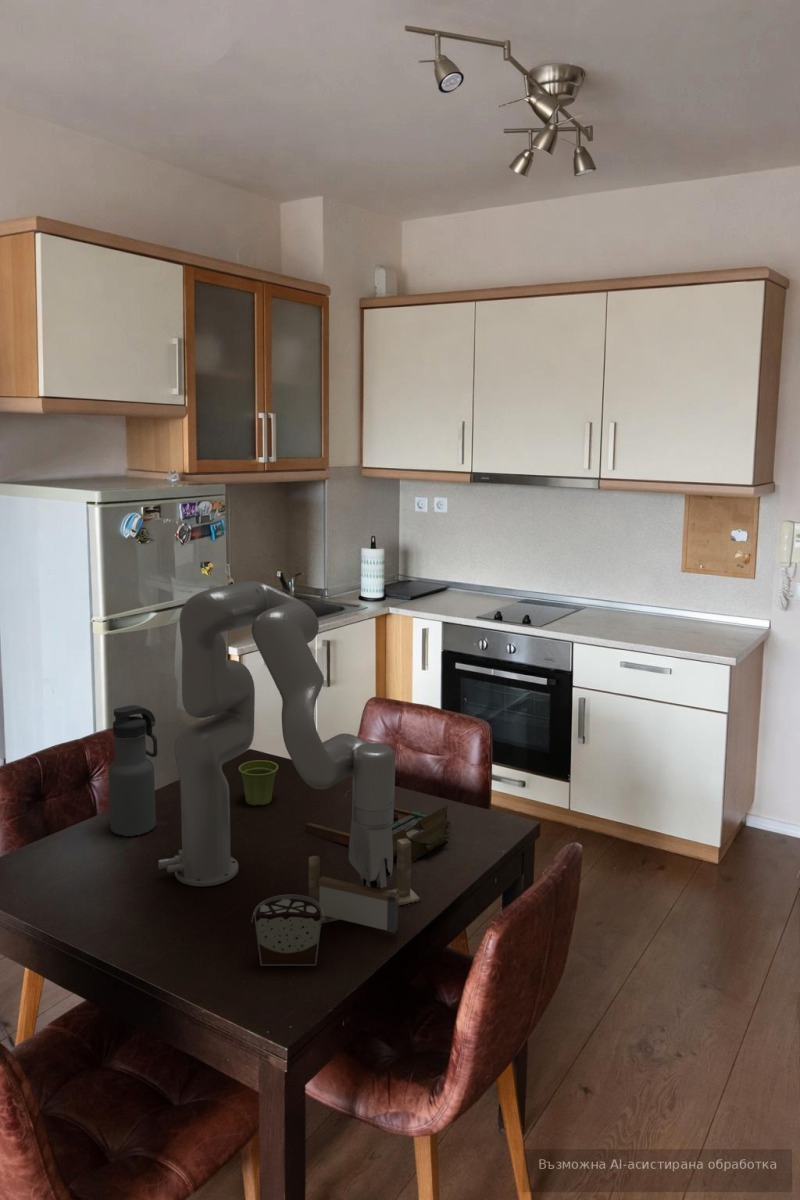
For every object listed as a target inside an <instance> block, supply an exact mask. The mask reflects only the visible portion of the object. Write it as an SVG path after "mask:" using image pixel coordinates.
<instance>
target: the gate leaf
mask: <svg viewBox="0 0 800 1200" xmlns="http://www.w3.org/2000/svg"><path fill="white" fill-rule="evenodd" d="M318 885H319V886H320V905H321V908H322V909H323V912H324V916H328V917H333V918H337V919H340V920H342V921H345V922H350V923H354V924H359V925H362V926H367V927H371V928H375V929H379V930H383V931H384V930H385V931H387V932H389V933H393V934H395V933H396V932H397V931H398V929H399V907H398V900H399V899H400V894H399V893H394V892H390V891H389V890H384V889H376V888H372V887H367V886H363V885H362V884H357V883H353V882H349V881H348V882H347V881H344V880H339V879H335V878H331V877H326V876H320V879H319V880H318Z"/></svg>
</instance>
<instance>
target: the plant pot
mask: <svg viewBox="0 0 800 1200" xmlns="http://www.w3.org/2000/svg"><path fill="white" fill-rule="evenodd" d="M278 770H279V764H277V763H276V762H274V761H270V760H264V759H263V760H262V759H260V760H259V759H258V760H251V761H245V762H243V763H241V764H240V765H239V766H238V771H239V772H240V776H241V778H242V785H243V791H244V796H245V797H244V799H245V802H246V803H247V804H248V805H251V806H258V805H260V806H266V805H268V804H269V803H271V802H272V799H273V798H272V797H273V790H274V784H275V776H276V774H277V771H278Z"/></svg>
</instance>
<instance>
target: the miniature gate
mask: <svg viewBox="0 0 800 1200" xmlns="http://www.w3.org/2000/svg"><path fill="white" fill-rule="evenodd" d="M448 807H449V805H448V804H445V806H443V807H441V808H439V809H437V810H435V811H434V812H431V813H427V814H425V813H423V811H420V810H417V811H413V810H409V809H405V808H401V807H396V806H394V819H395V821H393V823H392V824H391V827H392V840H393V859H394V858H396V857H397V840H400V839H405V838H407V839H408V840H409V841H410V842H411V862H413V863H414V862H415V861H417V860H418V859H419V857H420V858H421V857H423V856H425V855H426V854H428V853H430V852H431V851H433V850H435V849H436V848H438V847H439V845H440V844H441V845H443V844H444V843H443V842H445V841H446V842H445V843H448V842H447V841H448V840H449V839H451V837H450V835H447V828H448V827H447V826H448V825H449V826H450V825H451V821H448ZM304 825H305V826H304V827H305V832H306V833H309V834H311V835H314V836H315V837H316V836H317V837H318V838H319V837H320V838H322V839H325V840H328V841H330V842H333V843H338V844H340V845H345V846H347V847H349V841H350V832H346V831H342V830H339V829H335V828H331V827H327V826H324V825H320V824H316V823H313V822H307V823H305V824H304ZM442 843H443V844H442ZM441 845H440V846H441ZM437 846H438V847H437ZM435 847H436V848H435ZM434 848H435V849H434ZM432 849H433V850H432ZM430 850H431V851H430ZM429 851H430V852H429ZM427 852H428V853H427ZM424 854H425V855H424ZM422 855H423V856H422ZM395 856H396V857H395ZM417 858H418V859H417Z"/></svg>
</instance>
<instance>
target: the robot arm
mask: <svg viewBox="0 0 800 1200" xmlns="http://www.w3.org/2000/svg"><path fill="white" fill-rule="evenodd" d="M319 624H320V623H319V619H318V616H317V615H316V613H315V611H314V610H313V608H311V607H310V606H309V605H308V604H306V603H305V602H304V601H302V600H300V599H298V598H296V597H294V596H293V595H289V594H288V593H286V592H283V591H282V590H281V591H280V590H279V589H277V588H275V587H273V586H270V585H269V584H267V583H264V582H261V581H258V580H257V581H255V580H245V581H241V582H236V583H231V584H226V585H222V586H216V587H213V588H209V589H206V590H203V591H200V592H198V593H196V594H194V595H192V596H191V597H190V598H189V599H187V600H186V601H185V603H184V604H183V606H182V607H181V610H180V614H179V632H180V639H181V646H182V647H181V650H182V651H181V699H182V704H183V708H184V710H185V712H186V714H188V715H189V716H191V717H194V718H197V719H202V720H200V721H198V722H195V723H193V724H192V725H189V726H187V727H186V728H185V729H183V730H182V731H181V732H180V733H179V735H178V736H177V737H176V739H175V742H174V745H173V746H174V748H173V749H174V750H173V751H174V757H175V758H174V759H175V761H176V765H177V771H178V776H179V787H180V809H181V810H180V812H181V814H180V816H181V818H180V820H181V847H182V849H178V854H177V855H176V854H175V855H174V856H173V857H171V858H167V857H166V858H161V859H158V862H157V863H158V869H159V870H165V869H166V871H167V873H174V875H175V879H177V880H178V882H180V883H182V884H185V885H187V886H192V887H211V886H212V887H214V886H218V885H221V884H223V883H227V882H228V881H231V880H232V879H233V878H235V877H236V876H237V875H238V873H239V862H238V861H237V859H235V858H234V857H233V856H231V855H232V854H231V805H230V804H231V801H230V799H231V798H230V785H229V783H228V782H229V781H228V779H227V778H226V777H227V776H226V775H225V774H224V771H223V768H222V767H223V765H224V764H225V763H227V762H230V761H231V760H233V759H235V758H237V757H239V756H241V755H242V754H244V753H245V752H247V751H248V749H250V747H251V745H252V742H253V740H254V736H255V735H254V734H255V733H254V732H255V706H256V705H255V704H256V703H255V701H256V699H255V698H256V697H255V693H256V691H255V689H256V688H255V681H254V679H253V676H252V673H251V672H250V670H249V669H248V667H247V666H246V665H245V664H243V663H242V662H241V661H238V660H235V659H228V658H227V657H228V649H227V644H226V641H225V638H224V637H223V635H222V633H224V632H229V631H233V630H237V629H240V628H244V627H247V626H251V635H252V639H253V641H254V643H255V646H256V647H257V649H258V652H259V654H260V656H261V658H262V660H263V662H264V663H265V666H266V668H267V671H268V672H269V673H270V675H271V678H272V680H273V682H274V685H275V686H276V689H277V690H278V692H279V695H280V697H281V702H282V706H281V729H282V738H283V743H284V746H285V748H286V750H287V754H288V755H289V756H290V759H291V762H292V764H293V766H294V767H295V769H296V771H297V773H298V774H299V776H300V778H301V779H302V780H303V781H304V782H305V783H306V784H307V785H308V786H310V787H311V788H313V789H316V790H326V789H329V788H331V787H333V786H334V785H336V784H337V783H340V782H341V781H343V780H344V779H346V778H349V777H352V796H351V797H352V801H351V803H352V805H351V807H352V808H351V809H352V810H351V824H350V830H349V831H350V832H349V833H350V841H349V846H348V860H349V863H350V865H351V866H352V867H353V868H354V869H355V870H356V871H357V872H358V874H359V875H360V883H361V884H360V885H363V886H367V887H372V888H376V889H381V890H383V889H385V888H386V889H387V886H388V885H387V878H388V879H390V878H391V877H392V875H393V869H394V858H393V840H392V827H391V825H392V824H394V822H395V821H394V807H395V788H396V787H395V785H396V753H395V751H394V749H393V748H392V747H391V746H389V745H387V744H384V743H380V742H379V743H377V742H370V741H367V740H365V739H364V738H361V737H359V736H357V735H354V734H351V733H339V734H336V735H334V736H333V737H330V738H329V739H327V740H324V741H322V740H321V737H320V735H319V733H318V730H317V727H316V723H315V715H314V714H315V706H316V702H317V699H318V698H319V694H320V691H321V690H322V687H323V685H324V682H325V678H324V675H323V672H322V670H321V668H320V667H319V665H318V663H317V661H316V659H315V657H314V655H313V653H312V651H311V648H310V647H309V643H311V642H313V641H314V640H315V639H316V637H317V635H318V633H319V631H320V630H319V629H320V625H319ZM203 718H205V719H203Z"/></svg>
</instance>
